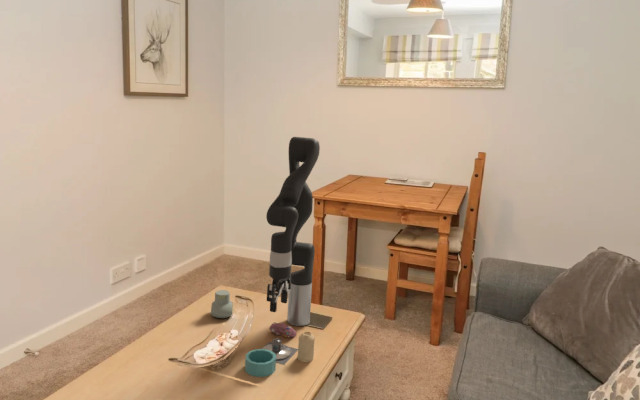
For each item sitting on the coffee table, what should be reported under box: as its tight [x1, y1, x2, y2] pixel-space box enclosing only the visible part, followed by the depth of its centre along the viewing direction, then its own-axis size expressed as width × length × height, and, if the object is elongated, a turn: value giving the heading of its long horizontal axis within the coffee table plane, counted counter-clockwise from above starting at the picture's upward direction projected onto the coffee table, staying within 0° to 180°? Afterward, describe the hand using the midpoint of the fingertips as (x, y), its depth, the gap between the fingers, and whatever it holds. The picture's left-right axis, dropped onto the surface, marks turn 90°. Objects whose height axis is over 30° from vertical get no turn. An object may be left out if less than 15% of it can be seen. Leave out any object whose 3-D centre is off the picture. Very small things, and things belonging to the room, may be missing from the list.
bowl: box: [244, 348, 277, 378], centre depth 174 cm, size 10×10×5 cm
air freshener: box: [210, 289, 234, 319], centre depth 212 cm, size 11×8×10 cm
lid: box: [262, 337, 291, 360], centre depth 184 cm, size 10×10×5 cm
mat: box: [261, 341, 298, 366], centre depth 185 cm, size 12×12×1 cm
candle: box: [297, 331, 315, 363], centre depth 181 cm, size 6×6×10 cm
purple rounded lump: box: [269, 322, 297, 338], centre depth 198 cm, size 10×5×7 cm, turn 68°
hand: (278, 307), depth 181 cm, fingers open, 8 cm apart
